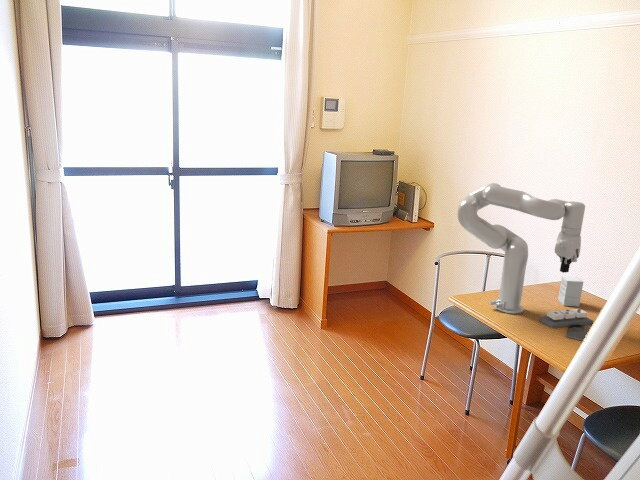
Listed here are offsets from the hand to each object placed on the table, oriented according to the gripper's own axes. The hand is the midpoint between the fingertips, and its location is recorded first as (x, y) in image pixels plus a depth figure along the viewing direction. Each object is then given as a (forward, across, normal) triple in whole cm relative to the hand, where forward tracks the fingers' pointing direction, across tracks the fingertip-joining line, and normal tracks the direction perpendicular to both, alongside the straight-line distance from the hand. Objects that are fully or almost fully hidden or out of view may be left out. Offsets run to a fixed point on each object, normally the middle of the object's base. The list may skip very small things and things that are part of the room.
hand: (564, 271), depth 217 cm
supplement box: (+21, -12, +17) cm, 30 cm away
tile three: (+18, +6, +6) cm, 20 cm away
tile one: (+18, +6, -6) cm, 20 cm away
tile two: (+18, +6, 0) cm, 19 cm away
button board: (+21, +6, 0) cm, 22 cm away
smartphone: (+22, +16, -3) cm, 27 cm away
